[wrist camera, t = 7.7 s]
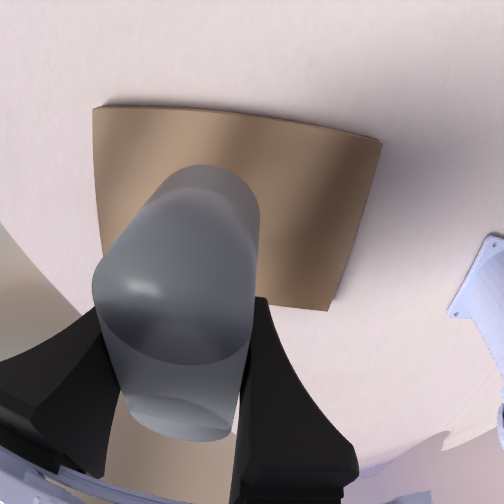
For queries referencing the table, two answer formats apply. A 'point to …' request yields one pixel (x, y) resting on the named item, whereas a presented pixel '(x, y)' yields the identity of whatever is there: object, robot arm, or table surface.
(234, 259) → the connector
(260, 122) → the walnut board
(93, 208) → the table surface
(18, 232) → the table surface
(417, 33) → the table surface
